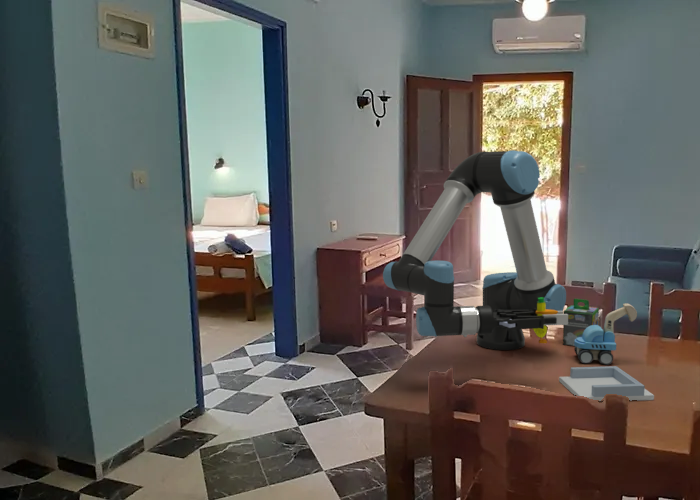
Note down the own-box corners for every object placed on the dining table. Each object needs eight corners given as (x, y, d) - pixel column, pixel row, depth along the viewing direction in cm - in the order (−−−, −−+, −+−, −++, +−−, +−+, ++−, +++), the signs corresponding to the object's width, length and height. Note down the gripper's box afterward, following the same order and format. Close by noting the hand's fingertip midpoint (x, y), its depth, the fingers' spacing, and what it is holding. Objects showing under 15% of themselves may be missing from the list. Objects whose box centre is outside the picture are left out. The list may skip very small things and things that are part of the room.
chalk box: (598, 342, 204) (600, 297, 202) (591, 349, 196) (593, 302, 194) (569, 338, 209) (570, 294, 207) (561, 344, 202) (563, 299, 200)
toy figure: (556, 340, 167) (557, 296, 165) (557, 344, 163) (559, 299, 161) (529, 340, 168) (530, 296, 166) (530, 343, 164) (531, 299, 163)
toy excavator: (637, 367, 179) (640, 308, 177) (576, 364, 182) (578, 306, 180) (630, 357, 187) (633, 301, 185) (571, 355, 191) (573, 300, 188)
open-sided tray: (581, 402, 154) (582, 387, 153) (559, 381, 169) (559, 367, 168) (653, 399, 154) (654, 385, 154) (625, 379, 169) (625, 365, 169)
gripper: (469, 326, 172) (553, 323, 173) (483, 342, 157) (576, 340, 157) (469, 299, 171) (554, 297, 172) (483, 313, 155) (577, 310, 156)
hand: (564, 317), depth 165 cm, fingers closed on toy figure, 3 cm apart
